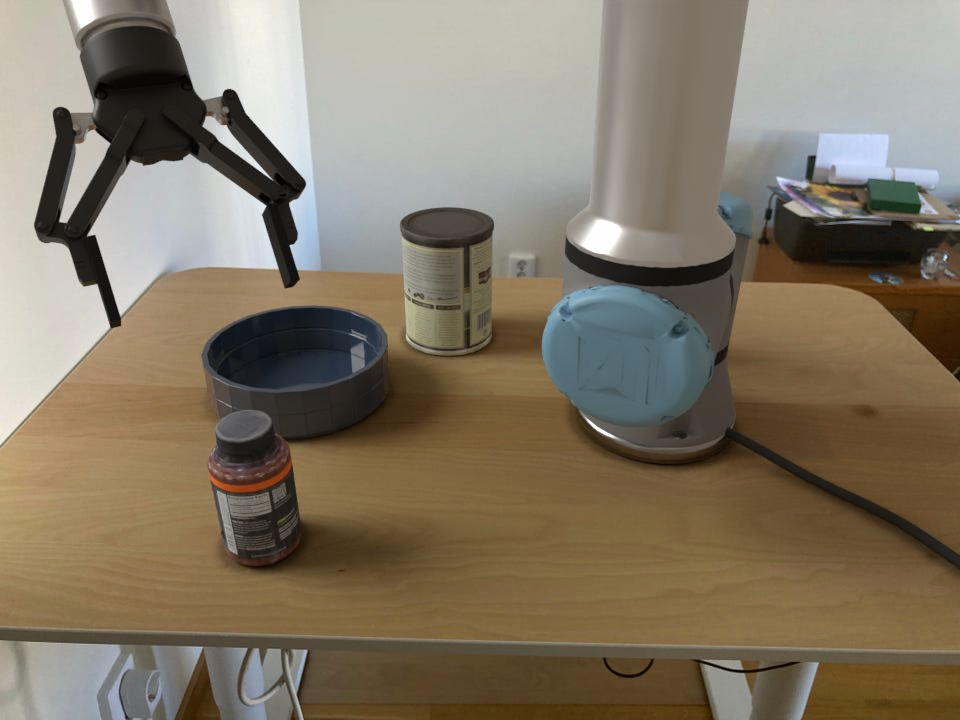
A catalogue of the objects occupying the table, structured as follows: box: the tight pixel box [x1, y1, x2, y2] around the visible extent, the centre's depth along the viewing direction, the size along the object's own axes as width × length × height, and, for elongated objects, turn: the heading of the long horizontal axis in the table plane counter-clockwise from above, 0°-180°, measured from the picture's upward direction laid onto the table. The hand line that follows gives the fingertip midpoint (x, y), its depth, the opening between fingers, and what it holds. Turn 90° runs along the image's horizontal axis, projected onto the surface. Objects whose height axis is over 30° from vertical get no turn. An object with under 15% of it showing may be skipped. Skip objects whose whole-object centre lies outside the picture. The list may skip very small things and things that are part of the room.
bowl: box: [200, 304, 391, 440], centre depth 79 cm, size 18×18×6 cm
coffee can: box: [399, 206, 495, 357], centre depth 88 cm, size 10×10×14 cm
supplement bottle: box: [207, 410, 302, 567], centre depth 58 cm, size 6×6×11 cm
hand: (208, 303), depth 61 cm, fingers open, 13 cm apart
